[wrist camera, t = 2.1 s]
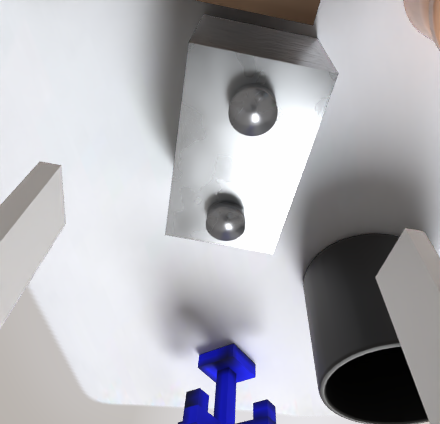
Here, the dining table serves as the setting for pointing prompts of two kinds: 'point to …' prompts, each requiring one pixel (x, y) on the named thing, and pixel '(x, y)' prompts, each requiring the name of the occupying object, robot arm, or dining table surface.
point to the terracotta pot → (425, 17)
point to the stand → (275, 8)
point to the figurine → (225, 390)
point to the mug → (358, 335)
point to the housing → (245, 131)
